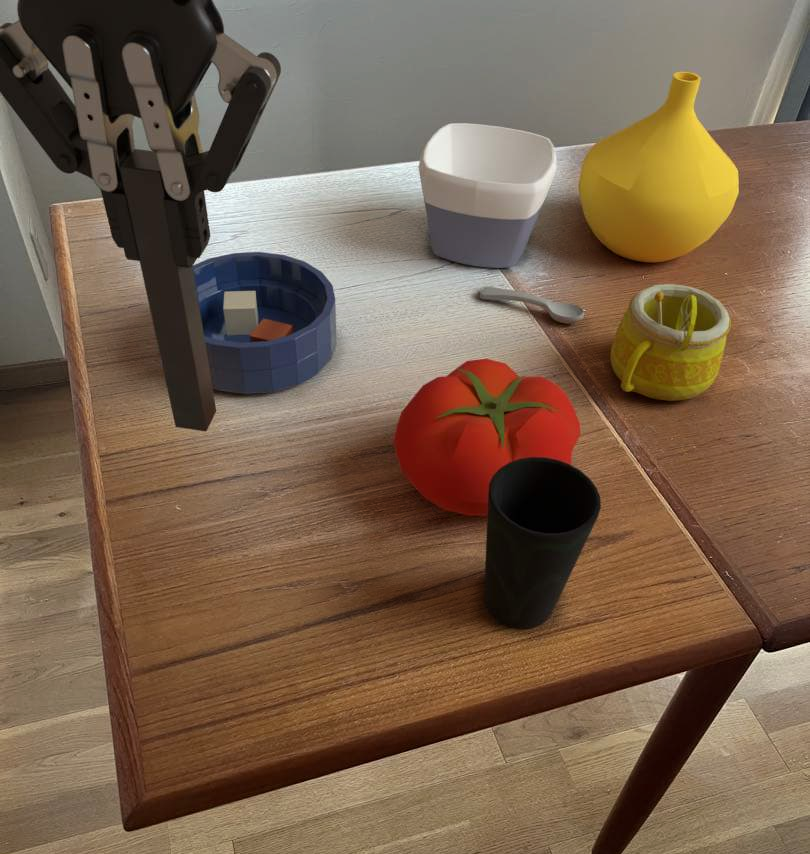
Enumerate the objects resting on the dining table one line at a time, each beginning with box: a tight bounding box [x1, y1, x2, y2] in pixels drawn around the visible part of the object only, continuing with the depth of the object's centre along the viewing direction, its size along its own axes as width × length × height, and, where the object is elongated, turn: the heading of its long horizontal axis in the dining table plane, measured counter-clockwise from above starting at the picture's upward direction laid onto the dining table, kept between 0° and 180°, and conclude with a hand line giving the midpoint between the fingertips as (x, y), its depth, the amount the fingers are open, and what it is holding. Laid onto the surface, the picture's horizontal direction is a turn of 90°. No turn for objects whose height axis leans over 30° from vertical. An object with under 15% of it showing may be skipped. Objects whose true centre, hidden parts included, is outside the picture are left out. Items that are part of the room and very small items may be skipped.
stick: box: [119, 148, 217, 432], centre depth 45 cm, size 2×2×16 cm
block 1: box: [223, 291, 258, 335], centre depth 85 cm, size 3×3×3 cm
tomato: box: [392, 358, 581, 516], centre depth 70 cm, size 14×16×10 cm
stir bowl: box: [193, 251, 337, 395], centre depth 83 cm, size 17×17×6 cm
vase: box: [577, 71, 740, 263], centre depth 96 cm, size 18×18×19 cm
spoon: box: [479, 286, 585, 325], centre depth 91 cm, size 3×12×2 cm, turn 64°
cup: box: [483, 457, 602, 630], centre depth 60 cm, size 8×8×12 cm
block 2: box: [250, 319, 293, 342], centre depth 82 cm, size 3×3×3 cm
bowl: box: [418, 122, 558, 269], centre depth 97 cm, size 15×15×11 cm
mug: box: [609, 283, 732, 402], centre depth 80 cm, size 13×11×12 cm
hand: (165, 255), depth 42 cm, fingers closed on stick, 2 cm apart
